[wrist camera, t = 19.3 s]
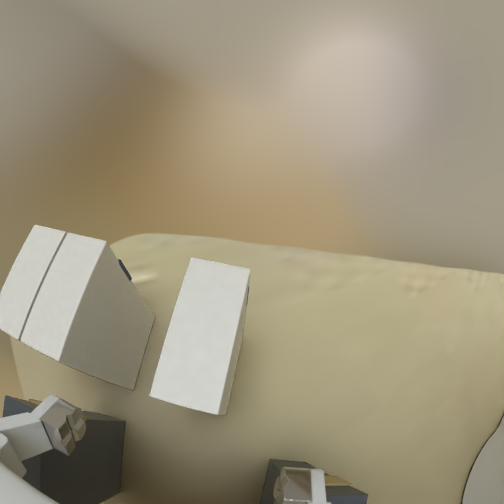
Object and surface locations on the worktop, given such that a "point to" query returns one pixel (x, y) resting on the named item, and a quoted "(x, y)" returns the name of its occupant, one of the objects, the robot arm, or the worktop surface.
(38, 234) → the white book
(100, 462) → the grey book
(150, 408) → the worktop surface
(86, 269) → the white book
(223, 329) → the white book
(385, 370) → the worktop surface
